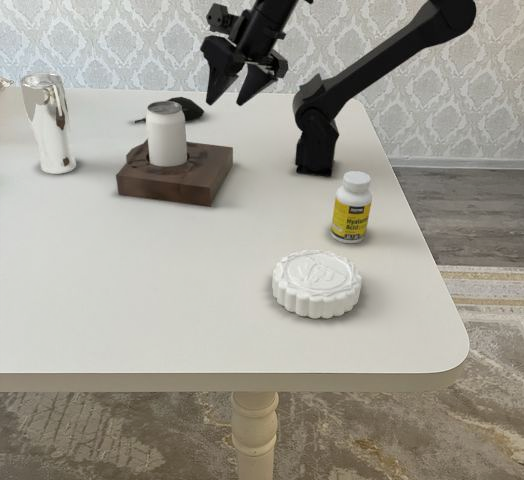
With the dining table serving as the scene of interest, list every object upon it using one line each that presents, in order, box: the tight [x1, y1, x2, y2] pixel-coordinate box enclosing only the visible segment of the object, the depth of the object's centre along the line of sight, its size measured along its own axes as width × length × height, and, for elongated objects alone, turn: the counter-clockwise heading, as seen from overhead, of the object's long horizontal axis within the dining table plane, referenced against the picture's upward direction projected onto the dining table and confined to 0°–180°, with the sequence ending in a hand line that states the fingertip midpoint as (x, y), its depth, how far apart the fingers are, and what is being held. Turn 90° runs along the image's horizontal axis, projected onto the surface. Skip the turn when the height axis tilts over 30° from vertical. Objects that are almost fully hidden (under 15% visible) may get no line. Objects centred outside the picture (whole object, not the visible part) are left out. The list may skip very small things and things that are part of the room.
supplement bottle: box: [330, 170, 373, 244], centre depth 89 cm, size 5×5×10 cm
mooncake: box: [271, 249, 363, 319], centre depth 80 cm, size 12×12×4 cm
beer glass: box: [19, 72, 77, 175], centre depth 101 cm, size 7×7×15 cm
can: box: [145, 100, 187, 167], centre depth 101 cm, size 6×6×12 cm
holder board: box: [115, 137, 234, 208], centre depth 103 cm, size 17×16×4 cm
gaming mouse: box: [134, 96, 205, 124], centre depth 123 cm, size 6×15×4 cm, turn 113°
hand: (223, 104), depth 101 cm, fingers open, 9 cm apart
